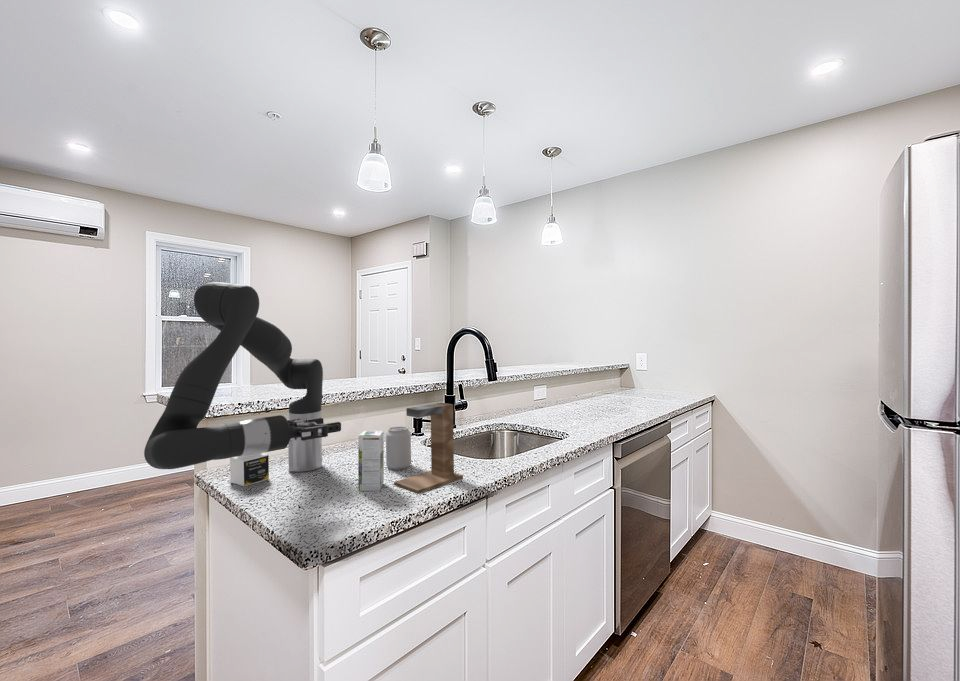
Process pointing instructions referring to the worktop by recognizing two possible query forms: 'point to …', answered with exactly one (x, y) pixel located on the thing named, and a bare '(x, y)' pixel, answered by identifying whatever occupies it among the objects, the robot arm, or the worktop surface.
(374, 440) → the syrup box
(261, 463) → the medicine bottle
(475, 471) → the worktop surface
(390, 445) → the can
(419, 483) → the keeper bracket
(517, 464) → the worktop surface
